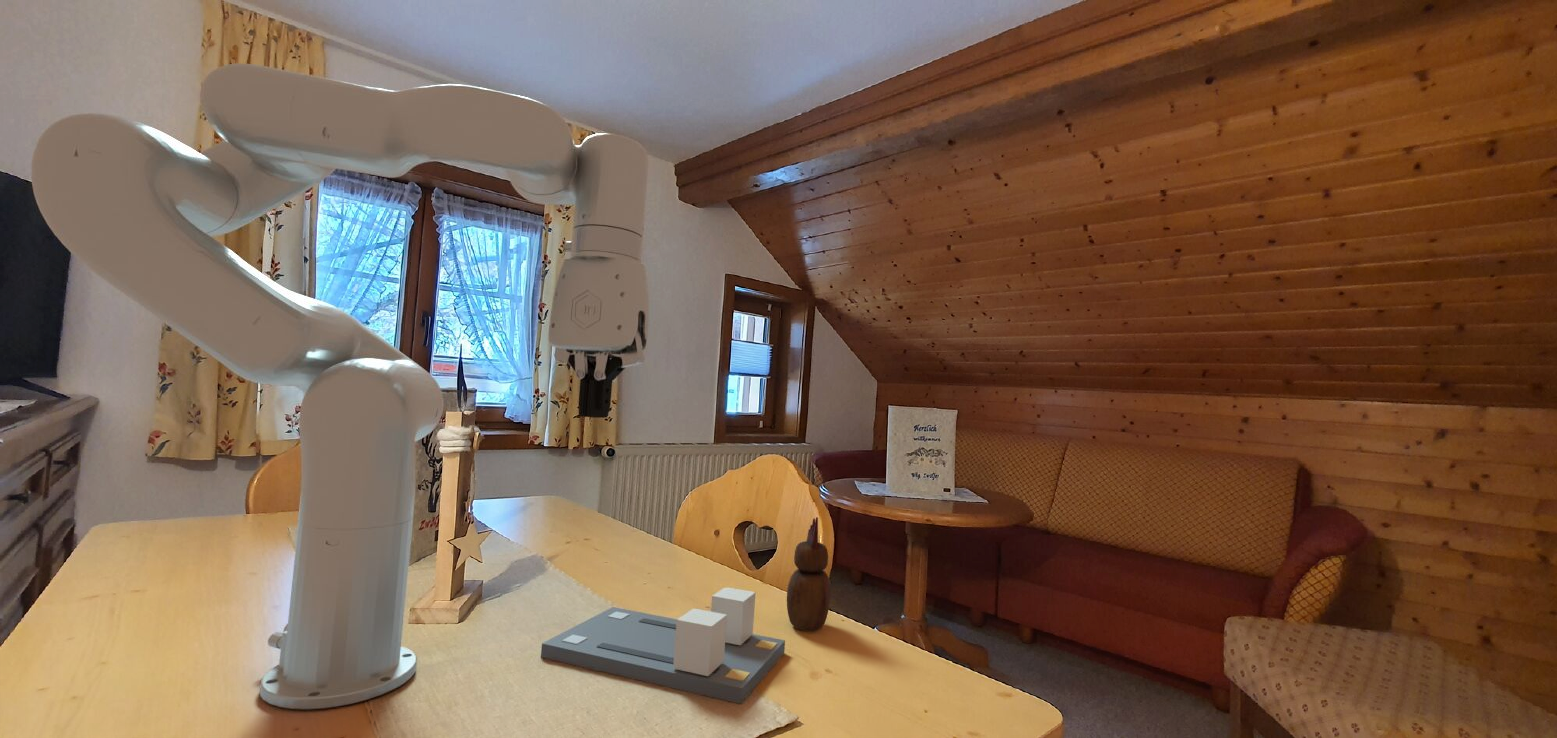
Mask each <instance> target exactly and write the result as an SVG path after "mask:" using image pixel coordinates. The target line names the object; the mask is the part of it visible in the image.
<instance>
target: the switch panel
mask: <svg viewBox="0 0 1557 738" xmlns="http://www.w3.org/2000/svg"><path fill="white" fill-rule="evenodd" d="M677 619H678V618H677ZM677 619H676V618H671V617H666V616H661V615H656V614H651V613H646V612H641V611H636V610H630V609H625V608H620V607H615V606H614V607H613V606H612V607H610V608H608V609H606V610H605V611H602V612H600V613H599V614H596V615H594V616H593V617H590V618H589V619H587V620H585V621H583V622H581V623H578V624H577V625H575V626H573V627H571V628H569V629H568V630H565V631H563V632H561V633H559V634H557V635H555V636H553V637H552V638H550V639H548V640H546V641H544V642H542V643H541V651H540V658H543V659H548V660H551V661H556V662H561V663H565V664H568V665H573V666H577V667H581V668H585V669H590V670H594V671H597V672H603V673H606V674H612V675H615V676H619V677H625V678H629V679H632V680H637V681H642V682H644V683H645V682H646V683H650V684H655V685H659V686H663V687H668V688H671V689H677V690H679V691H680V690H681V691H685V692H689V693H693V694H697V695H702V696H707V697H710V698H715V699H720V700H722V701H723V700H724V701H727V702H731V703H735V704H742V703H744V701H745V700H746V699H747V697H748V696H750V694H751V693H752V692H753V691H754V690H755V688H756V687H757V686H758V685H759V684H760V682H761V681H762V680H763V679H764V678H765V676H766V675H768V673H769V672H770V670H771V669H773V667H774V666H775V665H776V663H777V662H778V661H779V660H780V659H781V658H782V657H783V655H784V654H785V649H786V640H785V639H779V638H775V637H770V636H766V635H759V634H755V633H753V634H752V635H751V636H750V637H749V638H748V639H747V640H746V641H745V642H744V643H743V644H742V645H736V644H731V643H726V642H725V651H724V662H723V663H722V664H721V665H720V666H719V667H718V668H716V669H715V670H714V671H713V672H712V673H711V674H710V675H709V676H705V675H700V674H696V673H691V672H687V671H682V670H678V669H673V663H674V649H675V636H676V622H677ZM749 693H750V694H749Z"/></svg>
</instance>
